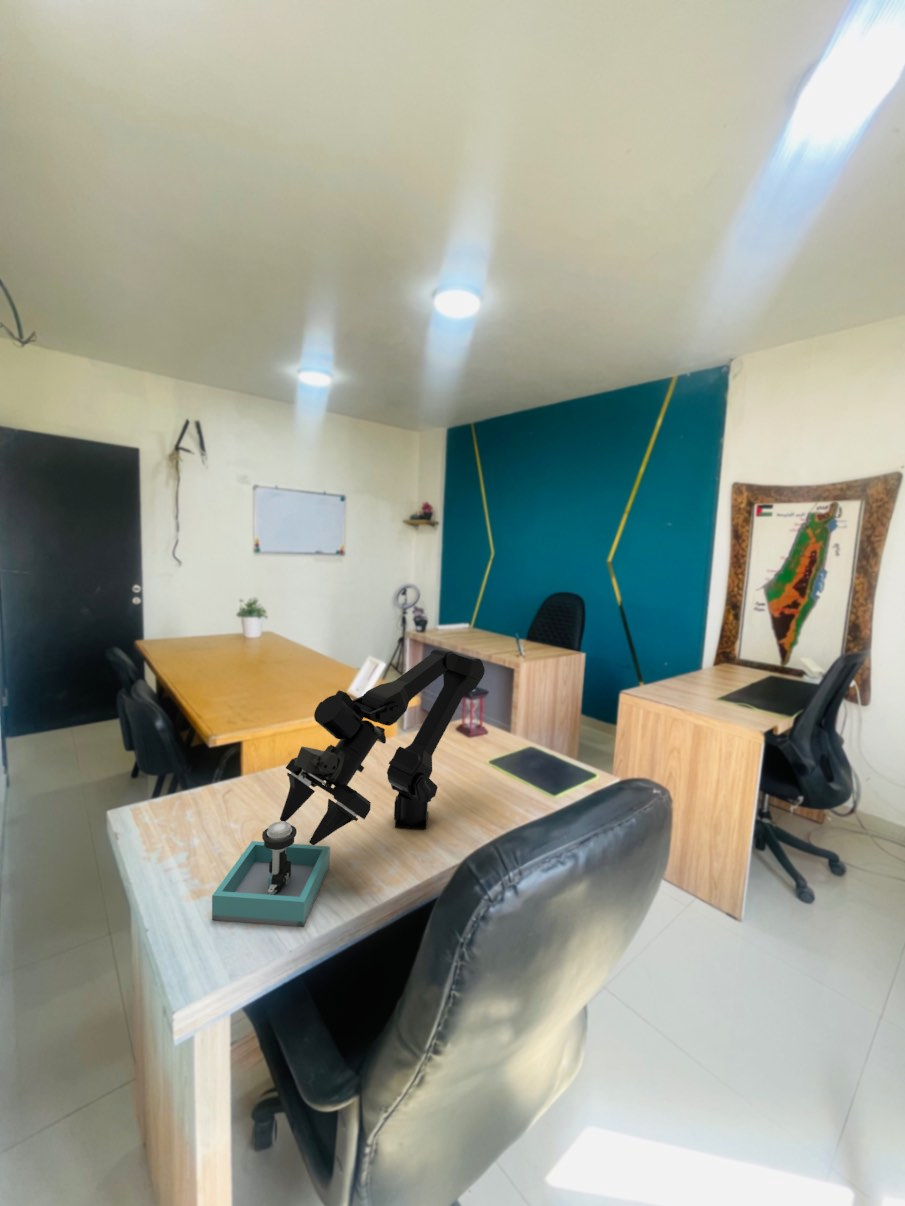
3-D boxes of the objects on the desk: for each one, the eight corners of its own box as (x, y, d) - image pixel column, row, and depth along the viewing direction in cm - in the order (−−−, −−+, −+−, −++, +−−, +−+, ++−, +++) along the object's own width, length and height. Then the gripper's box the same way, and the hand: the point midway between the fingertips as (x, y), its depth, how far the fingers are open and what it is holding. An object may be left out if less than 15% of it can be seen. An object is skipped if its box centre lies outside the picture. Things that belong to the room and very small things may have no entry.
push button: (285, 901, 79) (287, 842, 78) (252, 899, 79) (253, 840, 78) (299, 874, 86) (301, 819, 85) (269, 872, 86) (270, 817, 85)
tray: (329, 867, 89) (329, 846, 89) (303, 926, 75) (304, 902, 75) (251, 862, 89) (252, 841, 89) (212, 919, 76) (212, 895, 75)
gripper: (295, 714, 92) (236, 791, 85) (358, 745, 80) (295, 838, 73) (330, 744, 99) (279, 817, 92) (393, 776, 87) (339, 863, 80)
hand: (296, 832), depth 84 cm, fingers open, 9 cm apart
